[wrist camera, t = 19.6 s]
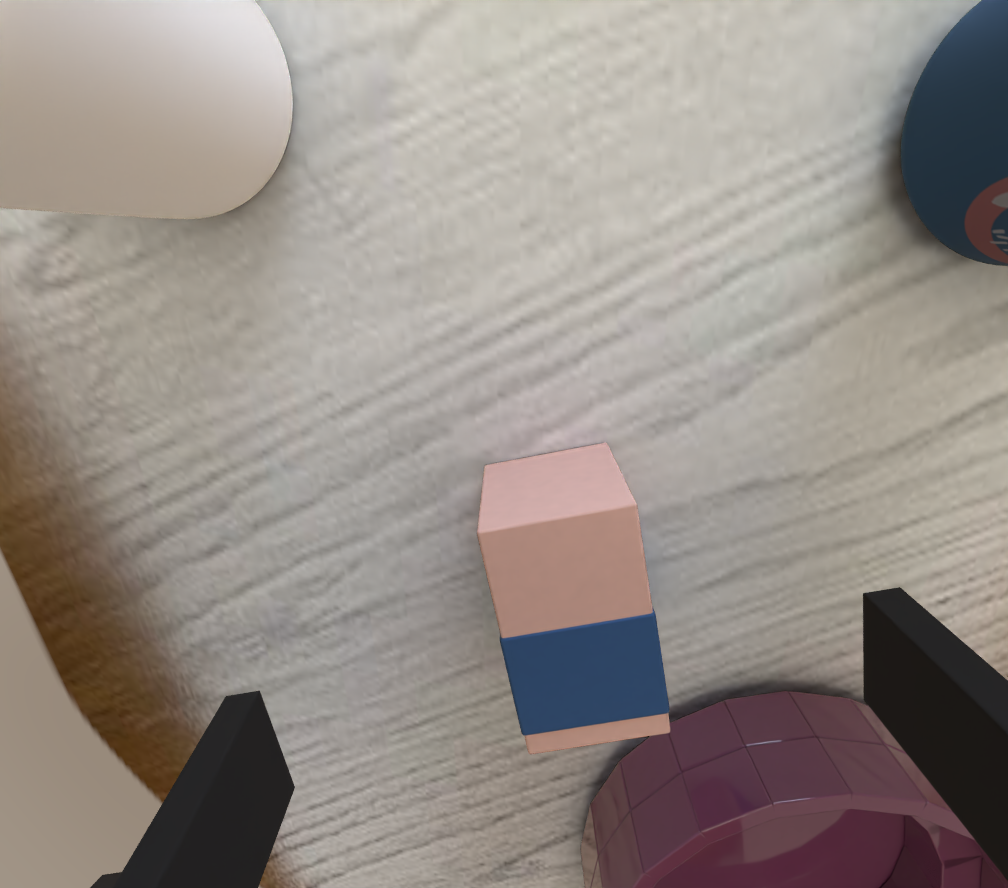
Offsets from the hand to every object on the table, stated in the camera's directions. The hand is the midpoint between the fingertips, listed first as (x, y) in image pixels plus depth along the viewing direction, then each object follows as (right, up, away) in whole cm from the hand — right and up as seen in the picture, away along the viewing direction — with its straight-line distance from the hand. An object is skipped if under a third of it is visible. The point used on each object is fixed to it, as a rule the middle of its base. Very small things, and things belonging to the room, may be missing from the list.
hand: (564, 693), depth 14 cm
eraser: (+1, +2, +8) cm, 8 cm away
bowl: (+9, -10, +11) cm, 17 cm away
